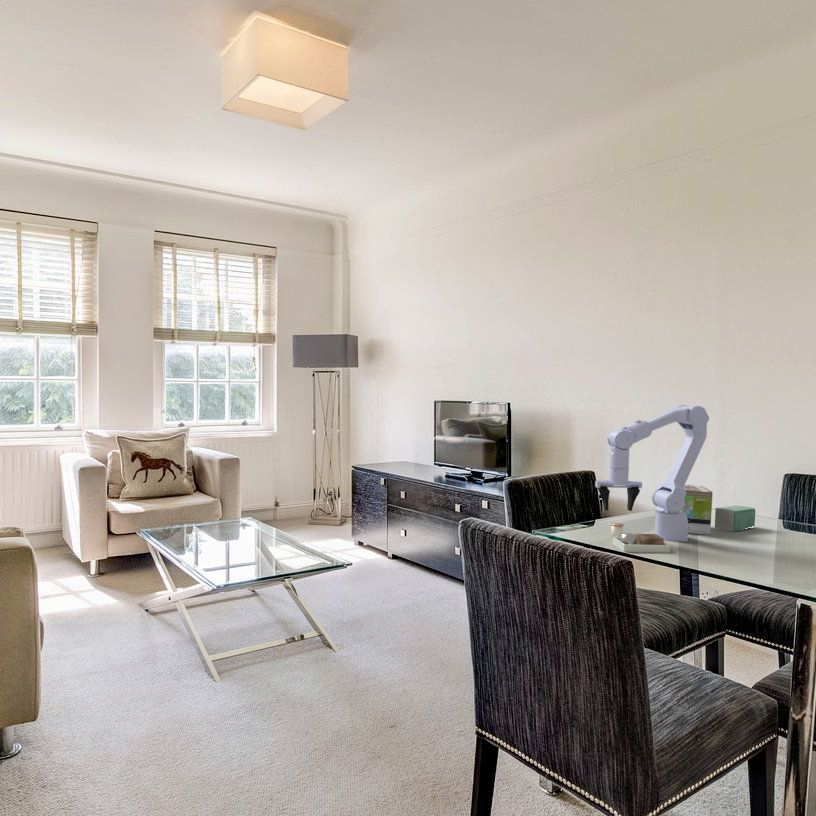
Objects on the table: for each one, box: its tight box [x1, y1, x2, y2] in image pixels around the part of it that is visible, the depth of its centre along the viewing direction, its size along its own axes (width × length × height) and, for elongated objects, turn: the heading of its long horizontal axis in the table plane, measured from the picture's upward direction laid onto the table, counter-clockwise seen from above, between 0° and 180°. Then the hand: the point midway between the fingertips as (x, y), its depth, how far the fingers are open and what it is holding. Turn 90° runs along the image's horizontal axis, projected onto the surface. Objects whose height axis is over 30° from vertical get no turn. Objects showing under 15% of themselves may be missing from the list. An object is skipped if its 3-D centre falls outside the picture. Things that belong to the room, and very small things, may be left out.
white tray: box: [611, 537, 671, 554], centre depth 205 cm, size 14×10×2 cm
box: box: [714, 505, 756, 533], centre depth 239 cm, size 7×14×8 cm, turn 124°
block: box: [635, 533, 665, 545], centre depth 205 cm, size 6×6×4 cm
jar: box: [610, 522, 624, 540], centre depth 217 cm, size 4×4×5 cm
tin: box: [621, 532, 637, 545], centre depth 205 cm, size 4×4×4 cm
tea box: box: [680, 484, 713, 535], centre depth 235 cm, size 15×10×15 cm, turn 168°
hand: (617, 510), depth 217 cm, fingers open, 7 cm apart
